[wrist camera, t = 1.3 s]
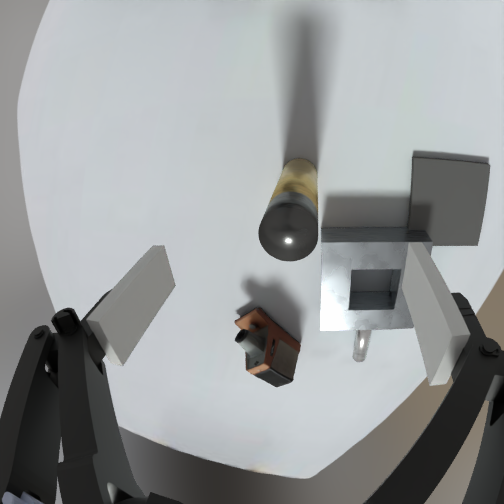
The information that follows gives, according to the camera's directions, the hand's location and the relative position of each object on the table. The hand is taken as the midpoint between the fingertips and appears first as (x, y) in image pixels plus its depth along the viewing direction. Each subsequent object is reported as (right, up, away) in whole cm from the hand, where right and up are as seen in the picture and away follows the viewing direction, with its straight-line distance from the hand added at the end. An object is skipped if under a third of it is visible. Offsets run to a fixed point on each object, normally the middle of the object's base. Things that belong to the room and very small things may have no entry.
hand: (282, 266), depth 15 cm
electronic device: (+1, -10, +26) cm, 28 cm away
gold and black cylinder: (+3, +9, +14) cm, 17 cm away
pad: (+20, +6, +12) cm, 24 cm away
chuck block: (+13, -5, +20) cm, 25 cm away
